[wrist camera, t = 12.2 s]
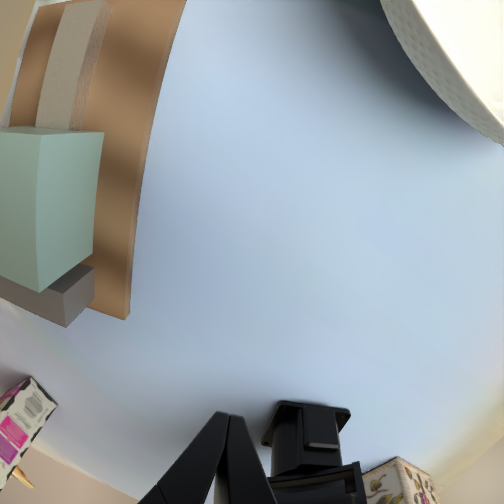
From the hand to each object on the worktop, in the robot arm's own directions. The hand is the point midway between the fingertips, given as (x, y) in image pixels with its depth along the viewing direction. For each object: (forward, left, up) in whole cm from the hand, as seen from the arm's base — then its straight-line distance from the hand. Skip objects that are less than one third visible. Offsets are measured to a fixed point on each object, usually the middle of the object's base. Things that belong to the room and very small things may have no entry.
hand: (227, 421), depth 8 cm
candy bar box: (-25, +23, -12) cm, 36 cm away
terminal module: (+2, +14, -11) cm, 18 cm away
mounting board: (+5, +14, -12) cm, 19 cm away
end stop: (-4, +14, -11) cm, 18 cm away
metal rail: (+5, +14, -12) cm, 19 cm away
